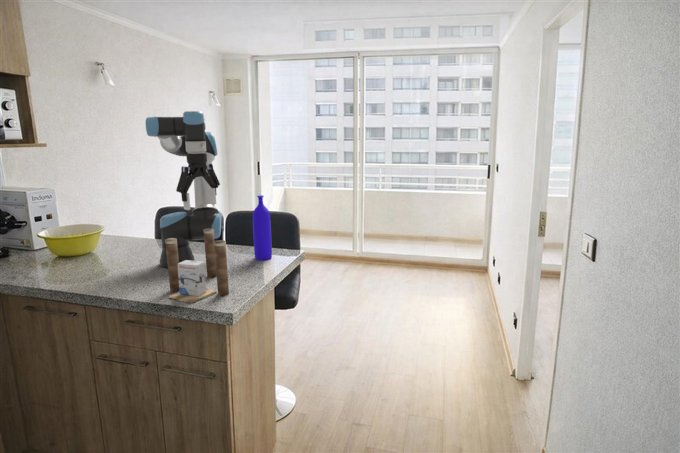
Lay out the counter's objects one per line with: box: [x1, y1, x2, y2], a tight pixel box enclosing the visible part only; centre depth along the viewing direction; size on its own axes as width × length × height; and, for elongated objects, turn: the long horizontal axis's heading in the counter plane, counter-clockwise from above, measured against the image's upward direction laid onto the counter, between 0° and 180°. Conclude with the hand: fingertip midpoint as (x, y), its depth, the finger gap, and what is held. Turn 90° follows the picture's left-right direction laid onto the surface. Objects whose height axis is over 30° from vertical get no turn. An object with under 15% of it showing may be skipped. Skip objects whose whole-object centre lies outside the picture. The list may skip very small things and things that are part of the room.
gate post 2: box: [203, 228, 217, 279], centre depth 183 cm, size 4×4×20 cm
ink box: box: [178, 260, 207, 296], centre depth 162 cm, size 9×5×12 cm, turn 73°
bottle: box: [252, 194, 273, 261], centre depth 208 cm, size 8×8×30 cm
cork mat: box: [167, 288, 217, 304], centre depth 163 cm, size 12×12×1 cm
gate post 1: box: [165, 238, 179, 293], centre depth 167 cm, size 4×4×20 cm
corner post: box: [214, 239, 230, 297], centre depth 162 cm, size 4×4×20 cm
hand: (200, 206), depth 176 cm, fingers open, 13 cm apart
